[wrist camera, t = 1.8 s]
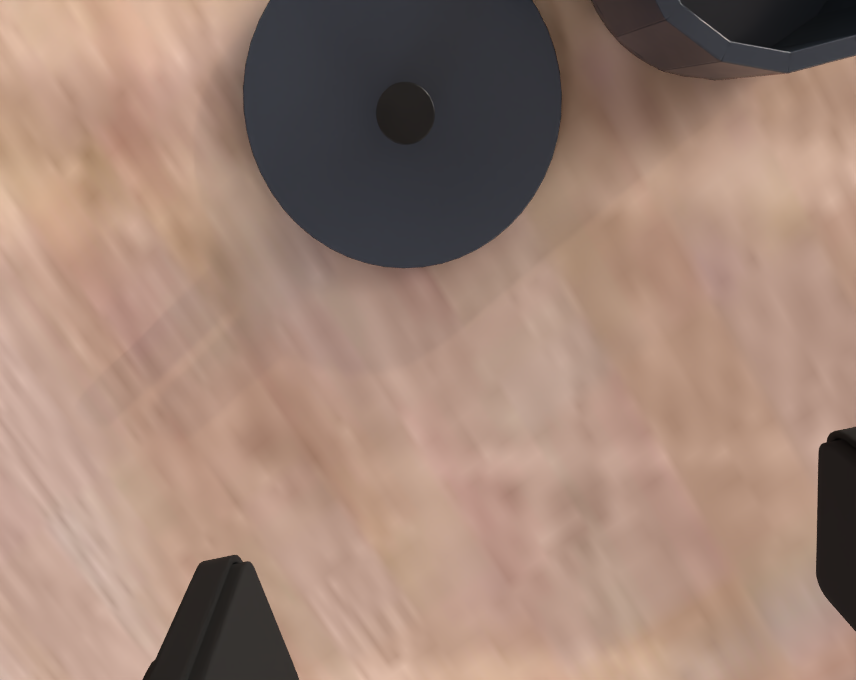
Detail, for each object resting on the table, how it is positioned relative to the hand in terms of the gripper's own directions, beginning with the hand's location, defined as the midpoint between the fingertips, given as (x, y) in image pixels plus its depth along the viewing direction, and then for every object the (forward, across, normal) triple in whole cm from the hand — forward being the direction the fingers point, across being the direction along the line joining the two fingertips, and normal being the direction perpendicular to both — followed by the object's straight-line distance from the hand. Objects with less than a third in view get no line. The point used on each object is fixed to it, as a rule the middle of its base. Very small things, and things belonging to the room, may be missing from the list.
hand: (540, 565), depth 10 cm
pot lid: (+24, 0, -7) cm, 25 cm away
